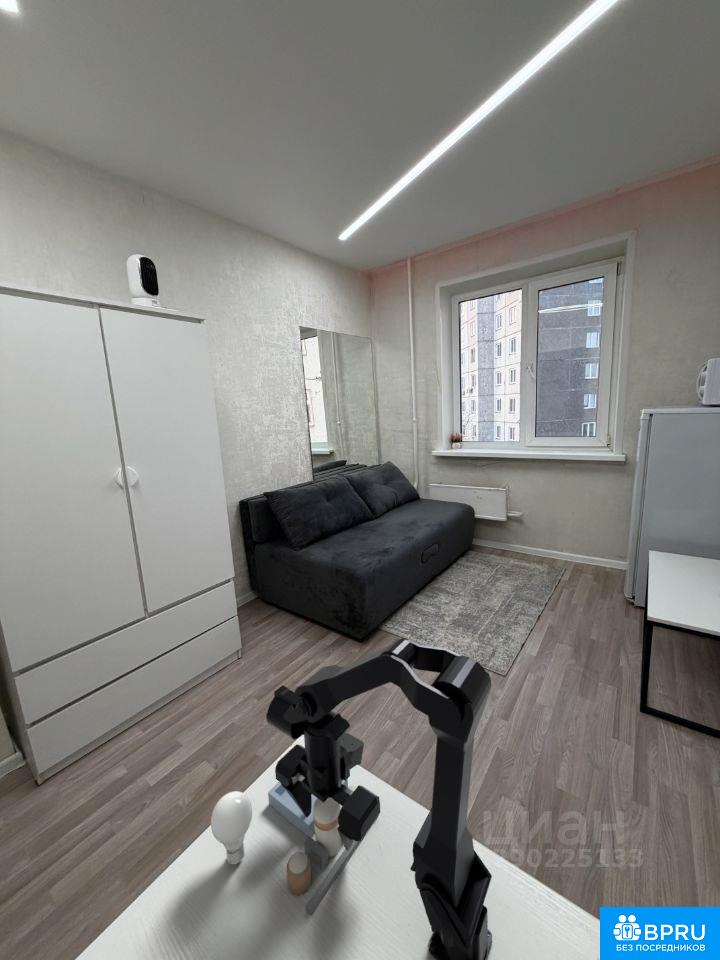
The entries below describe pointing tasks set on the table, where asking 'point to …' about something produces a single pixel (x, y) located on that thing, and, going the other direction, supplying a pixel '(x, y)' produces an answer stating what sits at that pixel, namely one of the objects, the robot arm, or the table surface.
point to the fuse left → (298, 873)
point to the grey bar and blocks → (320, 860)
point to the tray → (293, 808)
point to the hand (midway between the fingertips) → (327, 830)
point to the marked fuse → (327, 825)
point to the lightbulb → (232, 823)
